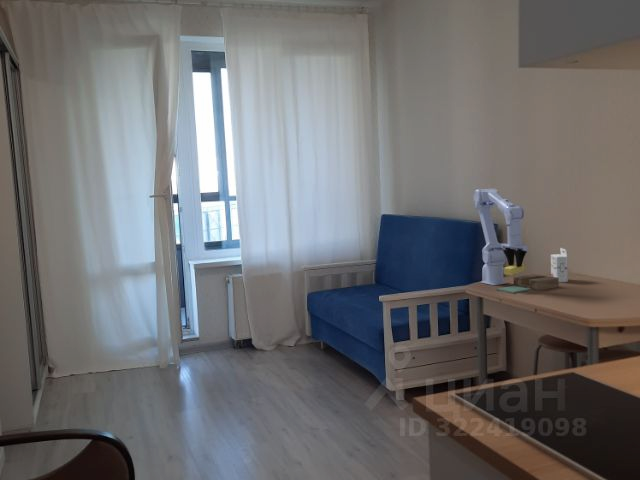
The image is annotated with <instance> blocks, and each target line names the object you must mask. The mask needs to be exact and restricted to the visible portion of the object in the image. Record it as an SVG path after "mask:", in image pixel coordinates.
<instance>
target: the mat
mask: <svg viewBox="0 0 640 480" xmlns="http://www.w3.org/2000/svg"><path fill="white" fill-rule="evenodd" d="M529 290H530V291H532V289H528V288H523V287H518V286H514V285H510V286H506V287H505V286H504V287H499V288H496V291H500V292H504V293H510V294H517V293H523V292H530V291H529Z"/></svg>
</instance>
